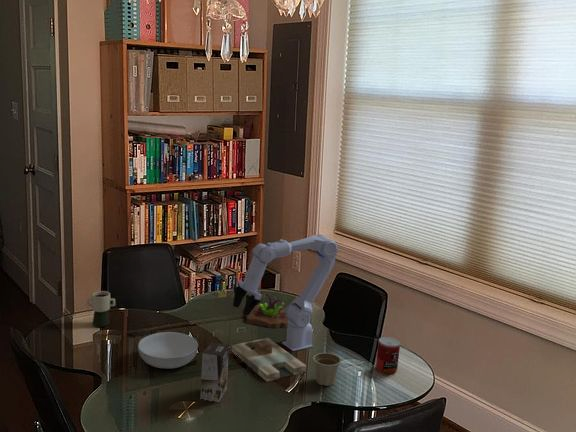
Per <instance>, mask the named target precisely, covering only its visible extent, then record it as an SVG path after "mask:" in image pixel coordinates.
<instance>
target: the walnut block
mask: <svg viewBox="0 0 576 432" xmlns="http://www.w3.org/2000/svg"><path fill="white" fill-rule="evenodd" d="M255 351H256V352H257V353H259V354H260V355H266V354H270V353H272V344H271V343H270V342H269V341H267V340H261V341H257V342H255Z"/></svg>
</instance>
